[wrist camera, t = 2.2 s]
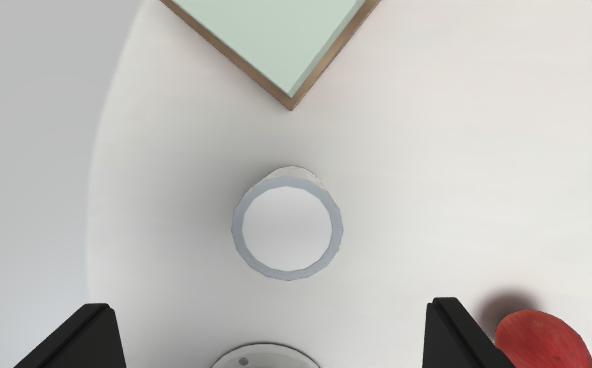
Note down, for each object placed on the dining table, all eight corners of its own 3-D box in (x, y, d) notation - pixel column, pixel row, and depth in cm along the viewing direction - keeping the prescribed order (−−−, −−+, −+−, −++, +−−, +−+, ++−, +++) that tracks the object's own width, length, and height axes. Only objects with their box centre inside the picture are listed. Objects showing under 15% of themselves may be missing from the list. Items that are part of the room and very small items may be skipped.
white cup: (313, 144, 24) (317, 157, 18) (345, 220, 26) (359, 259, 19) (236, 177, 25) (211, 202, 18) (270, 249, 27) (259, 296, 20)
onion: (546, 289, 27) (645, 361, 19) (538, 345, 28) (628, 435, 20) (478, 291, 27) (548, 364, 19) (473, 347, 28) (537, 436, 21)
